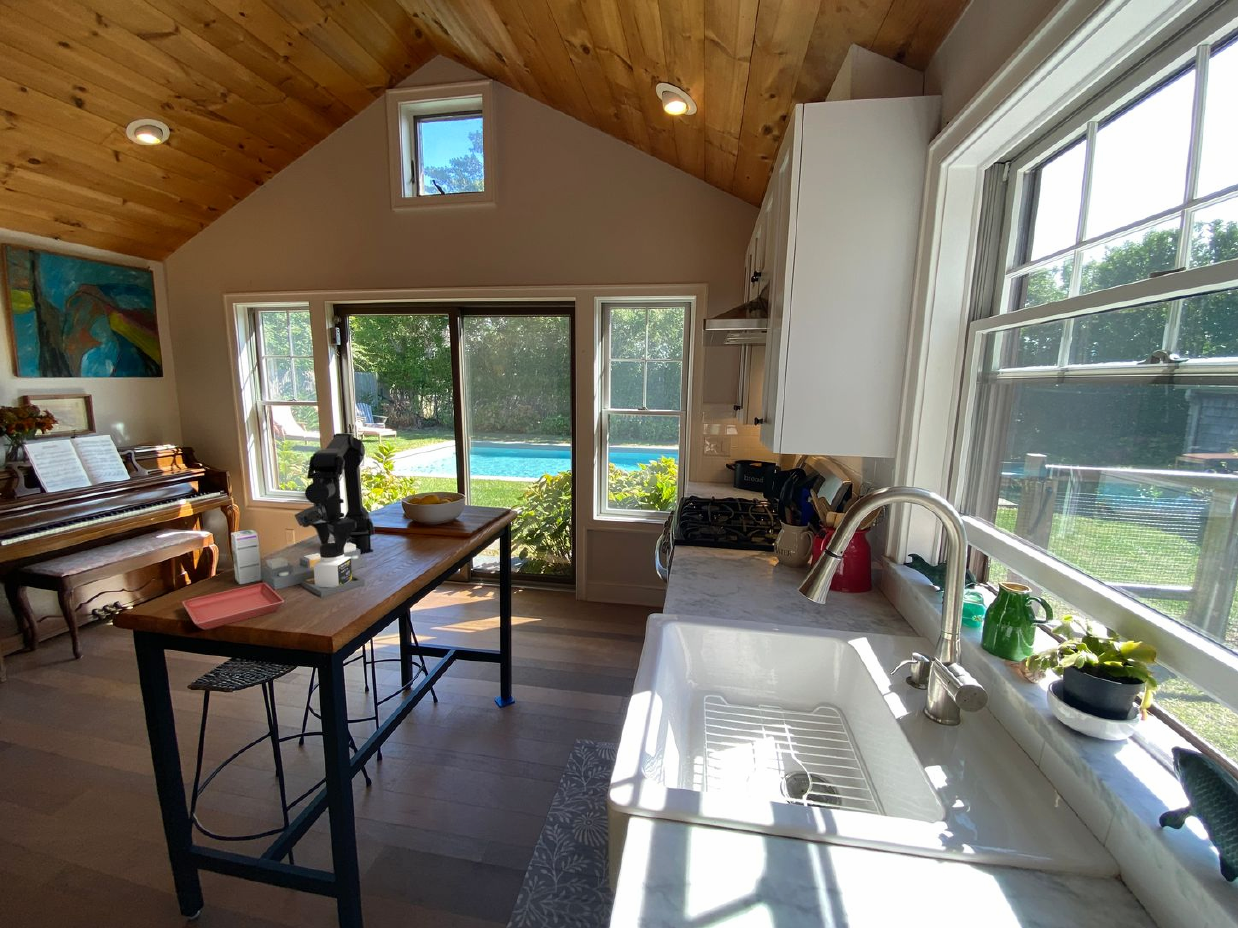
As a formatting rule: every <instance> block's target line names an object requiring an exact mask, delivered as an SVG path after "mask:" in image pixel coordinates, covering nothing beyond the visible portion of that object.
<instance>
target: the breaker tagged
mask: <svg viewBox="0 0 1238 928" xmlns="http://www.w3.org/2000/svg"><path fill="white" fill-rule="evenodd" d="M318 553H319V552H317V553H312V554H307V555H304V556H303V557H304V559H307V560H309V561H310V560H314V559H319V558H320V554H318Z"/></svg>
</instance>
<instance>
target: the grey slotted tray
mask: <svg viewBox="0 0 1238 928" xmlns="http://www.w3.org/2000/svg"><path fill="white" fill-rule="evenodd" d="M317 553H318V554H320V552H317ZM344 557H351V568H352V571H354V570H359V569H361V567H362V568H365V566H366V567H367V561H366V560H367V558H366V557H365V556H363V555H362V554H360V549H358V548H356V550H354V551H349V552H345V553H344ZM320 560H321V559H320V558H319V559H314V560H310V561H309V560H307V559H304V556H300V557H299V563H297V564H291V563H290V562H287V564H288V566H283V567H279V568H275V569H270V568H268V567H267V564H263V565H261V573H262V583H266V584H267V585H268V586H269V587H270V588H271V589H273V590H274V591H276V590H280V589H283V588H287V587H292V586H295V585H299V584H302V581H305V580H309V579H313V578H314V563H316V562H318V561H320Z"/></svg>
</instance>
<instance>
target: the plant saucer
mask: <svg viewBox="0 0 1238 928" xmlns="http://www.w3.org/2000/svg"><path fill="white" fill-rule="evenodd" d="M284 601H285V599H283V598H282V597H281V596H280V595H279V594H278V593H277V592H276V590H274V589H273V588H271V587H270V586H268V585H267V584H266V583H263V582H260V583H256V584H255V583H254V584H251V585H247V586H242V587H238V588H234V589H229V590H226V591H220V592H216V593H212V594H208V595H202V596H198V597H194V598H190V599H186V600H183V601H181V603H182V605H183V606H184V608H185V610H186V612H187V613H188V615H189V617H190V618H191V620H192V622H193V623H194V625H196V626H197V627H198V628H199V629H202V630H204V631H205V630H210V629H213V628H214V629H215V628H217V627H221V626H226V625H229V623H230V624H233V622H234V623H237V622H240V621H241V622H242V621H245V620H249V619H253V618H257V617H260V616H265V615H269V614H272V613H275V612H276V611H277V610H278V609H279V608H280V607H281V605H282V604H283V603H284ZM252 617H253V618H252ZM248 618H249V619H248ZM225 624H226V625H225Z"/></svg>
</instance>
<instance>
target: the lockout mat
mask: <svg viewBox="0 0 1238 928" xmlns="http://www.w3.org/2000/svg"><path fill="white" fill-rule="evenodd" d="M301 584H302V587H303V588H305V589H306V590H308V591H310V592H312V593H313V594H314V595H317V596H319V597H320V598H323V597H328V596H331V595H333V594H337V593H340V592H344V591H348V589H349V590H351V588H352V589H355V588H359V587H363V586H366V582H365V578H362V577H359V576H357V575H355V574H354V573H352V580H350V581H349V582H347V583H346V584H342V585H339V586H335V587H331V588H319V587H317V586H316V585H315V579H314V578H313V579H309V580H305V581H302V583H301Z"/></svg>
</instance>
